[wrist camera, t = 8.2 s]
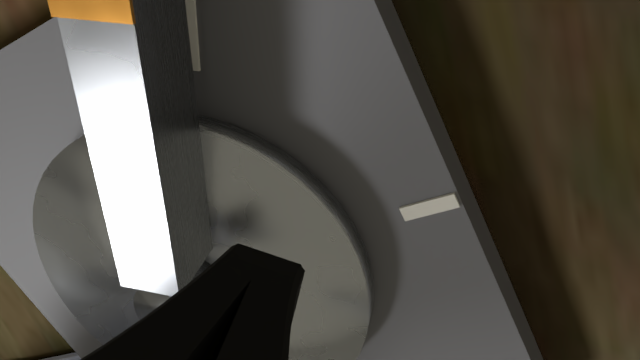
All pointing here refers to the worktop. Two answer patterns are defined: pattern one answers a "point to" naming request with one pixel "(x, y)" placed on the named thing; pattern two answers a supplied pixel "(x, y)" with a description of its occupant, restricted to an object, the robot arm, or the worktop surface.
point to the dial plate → (311, 151)
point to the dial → (180, 189)
